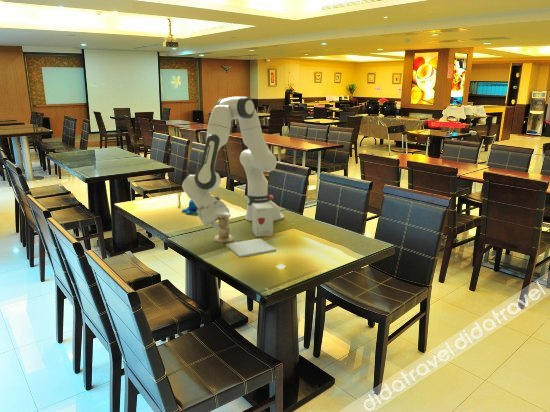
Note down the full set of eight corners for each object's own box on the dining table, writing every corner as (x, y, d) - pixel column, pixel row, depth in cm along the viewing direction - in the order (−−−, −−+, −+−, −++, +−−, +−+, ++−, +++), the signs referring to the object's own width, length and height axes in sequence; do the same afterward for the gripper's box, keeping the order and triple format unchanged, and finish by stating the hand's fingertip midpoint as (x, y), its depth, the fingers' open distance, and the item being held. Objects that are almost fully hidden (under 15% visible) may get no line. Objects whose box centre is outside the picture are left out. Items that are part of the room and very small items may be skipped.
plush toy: (216, 213, 250) (216, 199, 248) (189, 217, 241) (189, 203, 238) (204, 206, 263) (203, 193, 261) (178, 210, 254) (177, 197, 252)
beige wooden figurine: (229, 235, 211) (228, 210, 208) (236, 241, 203) (236, 215, 200) (212, 238, 207) (211, 212, 204) (218, 243, 199) (218, 217, 196)
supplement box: (255, 237, 209) (256, 208, 205) (252, 231, 218) (252, 203, 214) (273, 235, 212) (273, 207, 208) (268, 230, 220) (269, 202, 216)
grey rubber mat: (260, 239, 206) (260, 238, 205) (275, 250, 192) (275, 249, 192) (226, 245, 198) (226, 243, 197) (239, 257, 184) (239, 255, 184)
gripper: (198, 205, 193) (217, 228, 192) (220, 195, 212) (238, 216, 211) (191, 213, 196) (209, 236, 195) (213, 203, 214) (230, 224, 214)
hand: (224, 226), depth 203 cm, fingers open, 8 cm apart
